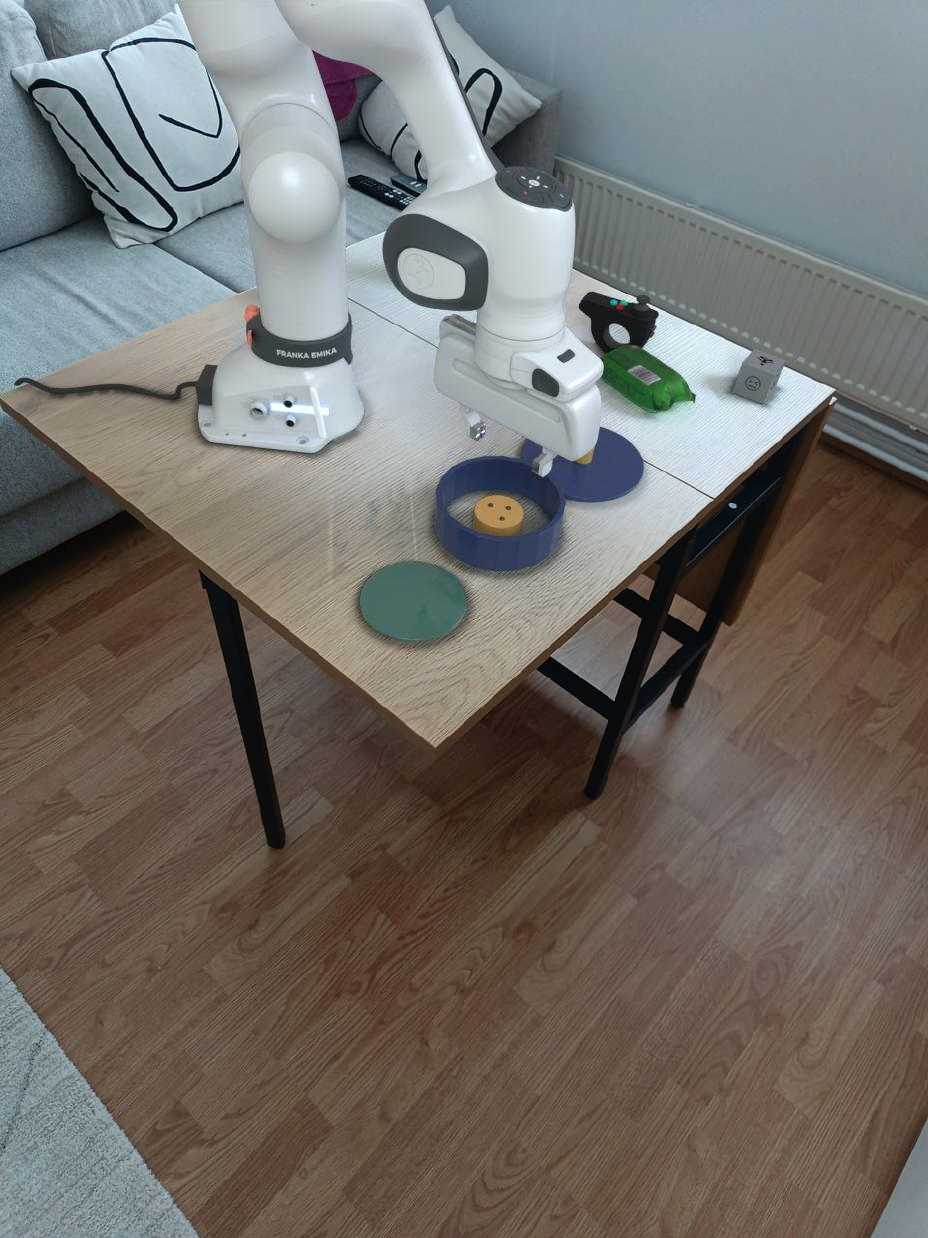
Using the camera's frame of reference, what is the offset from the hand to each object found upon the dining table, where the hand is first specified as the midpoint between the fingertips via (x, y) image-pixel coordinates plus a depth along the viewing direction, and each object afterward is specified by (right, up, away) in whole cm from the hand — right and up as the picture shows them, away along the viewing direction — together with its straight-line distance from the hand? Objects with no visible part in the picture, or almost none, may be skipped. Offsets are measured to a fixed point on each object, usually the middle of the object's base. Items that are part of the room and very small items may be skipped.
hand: (507, 453), depth 99 cm
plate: (-11, -17, 0) cm, 20 cm away
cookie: (-1, -7, +8) cm, 11 cm away
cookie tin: (-1, -8, +9) cm, 12 cm away
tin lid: (+11, +2, +18) cm, 21 cm away
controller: (+18, +23, +39) cm, 49 cm away
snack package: (+21, +14, +31) cm, 40 cm away
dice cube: (+39, +16, +33) cm, 54 cm away
